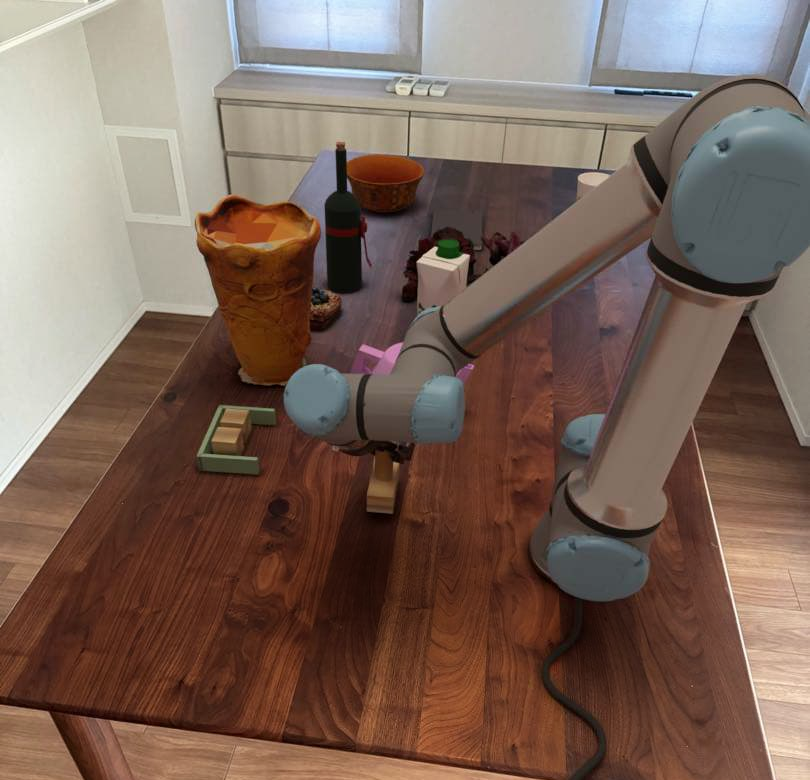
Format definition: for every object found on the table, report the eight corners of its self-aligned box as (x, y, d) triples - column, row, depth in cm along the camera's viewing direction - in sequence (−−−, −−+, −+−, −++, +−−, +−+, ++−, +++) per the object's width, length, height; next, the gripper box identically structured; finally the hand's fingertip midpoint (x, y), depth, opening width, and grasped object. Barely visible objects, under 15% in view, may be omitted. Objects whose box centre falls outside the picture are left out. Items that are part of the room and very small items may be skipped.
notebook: (433, 214, 209) (429, 248, 194) (433, 208, 208) (430, 242, 192) (481, 216, 208) (481, 251, 193) (482, 210, 207) (482, 244, 192)
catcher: (258, 474, 129) (256, 460, 127) (199, 470, 130) (196, 456, 127) (276, 422, 140) (274, 408, 138) (221, 419, 140) (219, 404, 138)
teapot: (339, 417, 141) (337, 358, 133) (364, 372, 152) (363, 315, 144) (460, 437, 138) (466, 377, 129) (476, 390, 149) (482, 332, 140)
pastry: (276, 325, 164) (274, 299, 160) (299, 299, 173) (297, 274, 169) (326, 334, 162) (325, 308, 158) (346, 308, 171) (345, 282, 167)
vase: (201, 397, 145) (171, 235, 124) (233, 341, 159) (211, 188, 138) (314, 408, 143) (303, 246, 122) (336, 351, 158) (330, 197, 137)
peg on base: (392, 513, 121) (394, 438, 111) (366, 511, 121) (366, 435, 111) (399, 472, 128) (402, 398, 118) (375, 470, 128) (375, 396, 118)
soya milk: (466, 339, 162) (475, 243, 148) (447, 359, 156) (454, 262, 143) (428, 328, 165) (433, 233, 151) (408, 348, 159) (411, 251, 145)
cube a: (238, 462, 131) (235, 442, 129) (214, 460, 132) (211, 440, 129) (244, 447, 134) (241, 428, 131) (221, 445, 134) (217, 426, 132)
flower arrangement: (398, 310, 170) (399, 241, 160) (410, 270, 185) (412, 205, 174) (544, 323, 168) (555, 254, 158) (544, 281, 182) (554, 215, 172)
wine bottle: (370, 295, 175) (369, 151, 154) (324, 292, 176) (317, 148, 155) (374, 279, 181) (374, 138, 160) (329, 276, 181) (324, 135, 160)
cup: (569, 222, 207) (575, 183, 200) (574, 208, 214) (580, 170, 207) (607, 228, 205) (615, 188, 198) (611, 213, 212) (619, 175, 205)
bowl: (437, 202, 215) (439, 164, 208) (395, 229, 201) (396, 188, 195) (373, 186, 222) (373, 148, 215) (328, 210, 209) (327, 170, 202)
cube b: (246, 443, 135) (243, 423, 132) (223, 441, 135) (219, 421, 133) (251, 429, 138) (249, 410, 135) (229, 427, 138) (226, 408, 136)
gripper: (286, 437, 103) (339, 464, 126) (401, 466, 99) (434, 488, 122) (301, 381, 103) (352, 418, 126) (417, 408, 99) (447, 441, 122)
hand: (392, 452), depth 124 cm, fingers closed on peg on base, 3 cm apart
